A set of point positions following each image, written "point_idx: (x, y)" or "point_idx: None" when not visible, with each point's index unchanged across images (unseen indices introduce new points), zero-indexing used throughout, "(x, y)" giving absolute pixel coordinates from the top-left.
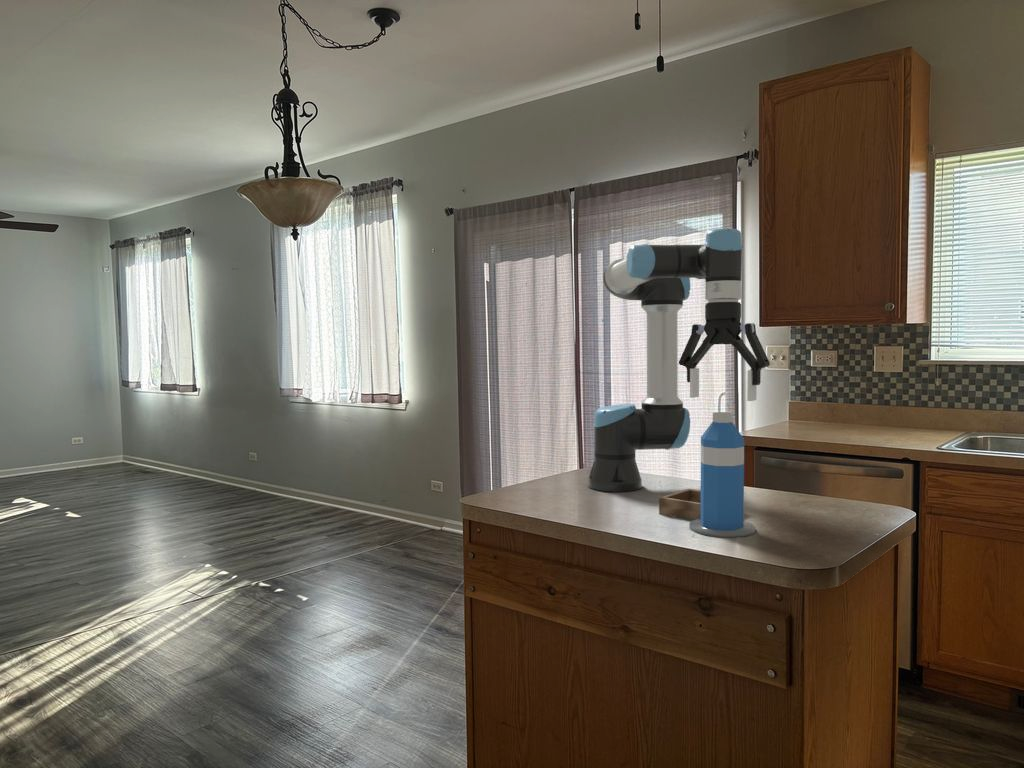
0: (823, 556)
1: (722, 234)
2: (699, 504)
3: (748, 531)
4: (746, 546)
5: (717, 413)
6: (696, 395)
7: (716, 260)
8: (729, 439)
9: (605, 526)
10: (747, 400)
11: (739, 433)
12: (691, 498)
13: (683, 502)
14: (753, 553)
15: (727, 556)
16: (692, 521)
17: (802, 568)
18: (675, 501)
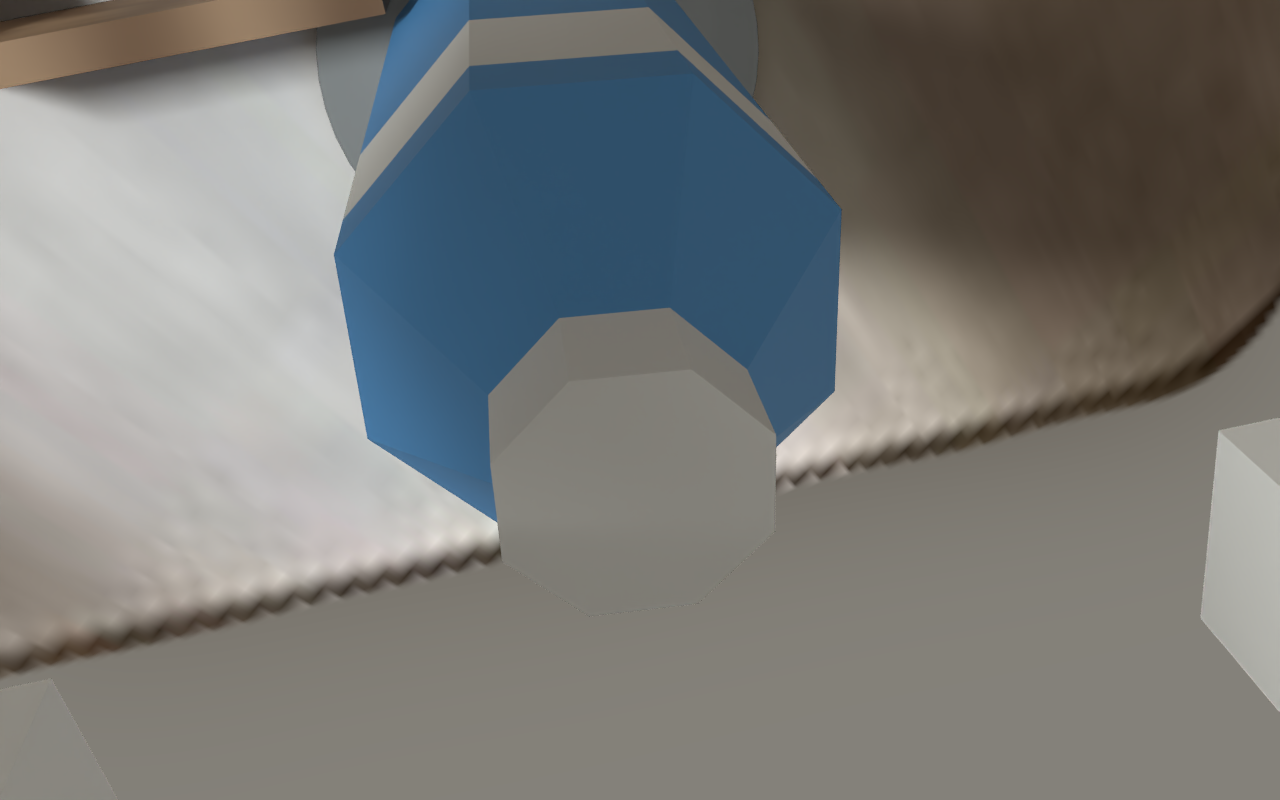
0: (1245, 93)
1: None
2: (275, 33)
3: (751, 58)
4: (863, 255)
5: (630, 592)
6: (84, 782)
7: None
8: (790, 432)
9: (82, 553)
10: (1206, 621)
11: (813, 272)
12: None
13: (131, 62)
14: (951, 326)
15: (886, 454)
16: (345, 139)
17: (1219, 339)
18: (55, 75)
